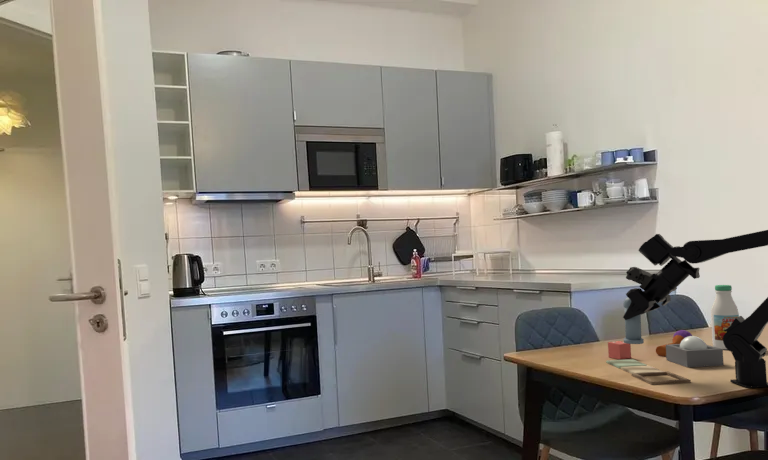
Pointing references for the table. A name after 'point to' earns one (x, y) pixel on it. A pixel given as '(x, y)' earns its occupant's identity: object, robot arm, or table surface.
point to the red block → (619, 350)
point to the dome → (693, 343)
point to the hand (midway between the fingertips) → (627, 317)
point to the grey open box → (694, 356)
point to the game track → (645, 371)
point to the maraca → (676, 340)
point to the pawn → (632, 327)
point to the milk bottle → (722, 314)
